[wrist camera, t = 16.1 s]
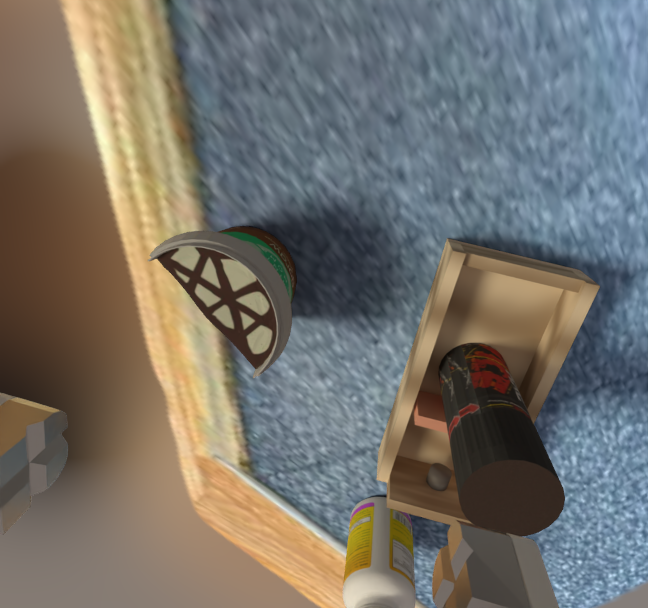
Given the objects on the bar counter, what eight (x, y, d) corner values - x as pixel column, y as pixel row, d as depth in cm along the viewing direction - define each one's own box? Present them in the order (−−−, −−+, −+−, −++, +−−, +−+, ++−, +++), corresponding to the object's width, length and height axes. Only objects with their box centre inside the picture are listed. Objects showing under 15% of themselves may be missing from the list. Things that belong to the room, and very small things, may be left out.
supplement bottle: (348, 533, 51) (334, 655, 40) (353, 488, 49) (340, 605, 37) (407, 544, 51) (411, 672, 39) (416, 499, 48) (422, 621, 36)
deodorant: (424, 375, 41) (438, 501, 28) (469, 329, 39) (508, 441, 25) (474, 411, 42) (513, 552, 28) (521, 368, 40) (588, 498, 26)
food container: (338, 292, 41) (321, 341, 32) (287, 328, 43) (257, 383, 34) (249, 181, 38) (202, 199, 29) (199, 224, 40) (141, 254, 31)
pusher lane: (447, 238, 38) (457, 262, 31) (579, 270, 37) (618, 300, 30) (378, 451, 47) (375, 504, 40) (484, 480, 46) (498, 538, 39)
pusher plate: (416, 389, 42) (418, 415, 38) (506, 412, 41) (517, 441, 37) (413, 398, 42) (414, 424, 38) (502, 421, 42) (513, 450, 38)
